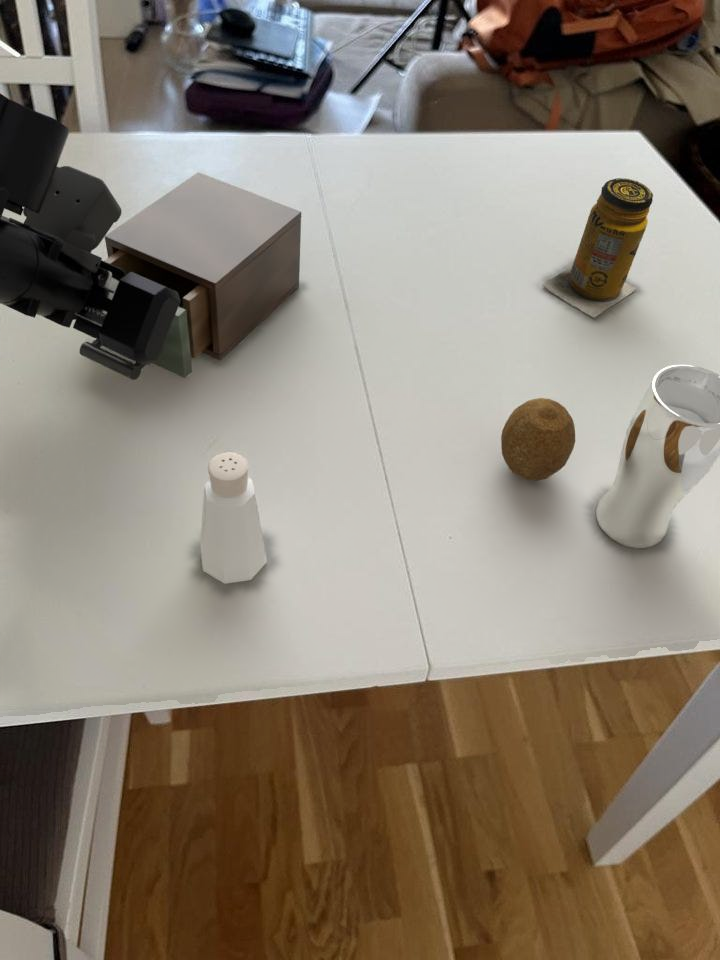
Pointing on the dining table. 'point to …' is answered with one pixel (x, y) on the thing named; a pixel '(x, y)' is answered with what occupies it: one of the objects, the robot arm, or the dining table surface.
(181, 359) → the drawer
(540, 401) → the fruit
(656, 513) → the beer glass
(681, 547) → the dining table surface
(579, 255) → the condiment
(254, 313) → the cabinet
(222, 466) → the salt shaker
